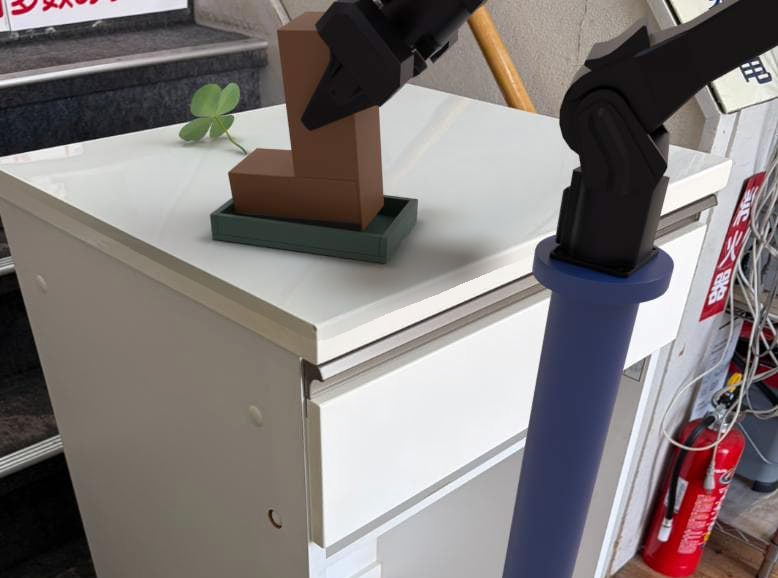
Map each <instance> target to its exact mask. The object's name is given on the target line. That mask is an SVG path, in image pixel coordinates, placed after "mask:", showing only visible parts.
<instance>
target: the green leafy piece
mask: <svg viewBox="0 0 778 578" xmlns="http://www.w3.org/2000/svg"><path fill="white" fill-rule="evenodd" d="M240 92H241V91H240V87H239V85H238V84H237V83H235V82H229V83H228V84H227V85H226V87H224V88H223V89H221V86H220V85H219V84H215V83H209V84H205V85H203V86H201V87H200V88H198V89H197V90H196V92H195V93H194V94H193V97H192V99H191V103H190V108H189V109H190V112H191V114H192V115H193V116H195V117H198V118H196V119H193V120H191V121H189V122H188V123H186V124H185V125H184V126H182V127H181V128H180V130H179V133H178V137H179V138H180V139H181V140H183V141H185V142H191V141H192V142H198V141H201V140H203V139H204V138H205V136H206V135H207V133H208V132H209V135H208V136H209V138H210V139H212V140H213V139H217V138H219V137H221V136H223V135H224V134H226V136H227V137H228V139H229V140H230V142H231V143H232V144H234V145H235V146H236V147H238V148H239V149H240V150H242V152H243V153H244V154H245V155H247V154H248V152H247V150H246V149H245V148H244V147H243V146H242V145H240V144H238V143H237V142H236V141H235V140H234V139H233V138H232V137H231V135H230V133H229V132H228V130H229V129H230V128H231V127H232V126H233V123H234V122H235V116H234V115H233V114H227V113H230V112H231V111H232V110H234V109H235V108H236V107H237V105H238V104H239V102H240V97H241V93H240ZM223 114H224V115H223ZM226 114H227V115H226Z"/></svg>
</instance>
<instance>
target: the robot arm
mask: <svg viewBox="0 0 778 578" xmlns="http://www.w3.org/2000/svg"><path fill="white" fill-rule="evenodd" d="M488 1H489V0H334V1H333V2H332V3H331V4H330V5H329V7H328V8H327V9H326V10H325V11H324V12H325V13H324V14H323V15H322V17H321V18H320V19H319V20H318V21H317V23H316V24H315V27H316V30H317V33H318V35H319V36H320V37H321V38H322V40H323V41H324V42H325V43H326V45H327V46H328V47H329V50H330V61H329V63H328V65H327V68H326V70H325V72H324V74H323V76H322V78H321V80H320V82H319V84H318V86H317V88H316V90H315V92H314V94H313V95H312V97H311V99H310V101H309V103H308V105H307V107H306V109H305V111H304V113H303V115H302V117H301V122H302V123H303V125H304V126H305V127H306V128H307V129H308V130H309V131H313V130H315V129H318V128H320V127H323V126H325V125H328V124H330V123H333V122H335V121H337V120H340V119H342V118H345V117H348V116H350V115H353V114H355V113H358V112H360V111H363V110H366V109H368V108H371V107H373V106H376V105H377V106H379V108H381V107H383V106H384V105H385V104H386V103H388V101H390V100H391V99H393V97H394V96H395V95H396V94H397V93H398V92H399V91H400V90H401V89H403V87H404V86H405V85H406V84H408V82H409V81H410V80H411V79H414V78H416V77H418V76H419V75H421V74H422V73H423V72H425V71H426V70H427V69H428V64H427V62H426V61H428V60H429V61H431V63H432V64H435V63H436V62H437V61H438V60H440V59H441V58H442V57H443V56H444V55H445V54H446V53H447V52H448V51H449V50H450V49H451V48H452V47H453V46H454V45H455V44H456V43H457V42H458V40H459V29H460V28H461V27H462V26H463V25H464V24H466V22H467V21H468V20H469V19H470V18H471V17H472V16H473V15H474V14H475V13H476V12H477V11H478V10H479V9H480V8H482V7H483V6H485V4H486V3H488ZM651 17H652V16H651V14H650V12H645V13H644V14H643V15H642V16H641V17H639V18H638V19H637V20H636V21H634V22H633V23H632V24H631V25H630V26H629V27H627V28H626V29H624V31H622V32H621V33H620V34H618V35H617V36H615V37H613V38H611V39H608V40H605V41H600V42H594V43H593V44H592V46H591V48H590V50H589V52H588V54H587V56H586V58H585V60H584V63H583V64H582V65H581V66H580V67H579V68H578V70H577V71H576V73H575V75H574V76H573V79H572V80H571V81H570V83H569V86H568V87H567V90H566V92H565V94H564V96H563V99H562V101H561V104H560V107H559V114H558V115H559V116H558V117H559V119H558V120H559V121H558V122H559V123H558V125H559V128H560V133H561V136H562V139H563V140H564V142H565V144H566V145H567V146H568V148H569V149H570V150H571V151H573V152H574V153H575V154H576V155H578V159H579V160H578V161H579V166H576V167H575V168H574V169H572V172H571V173H572V175H571V179H570V185H568V186H566V187H565V188H564V189H562V190H563V191H562V195H561V201H560V207H559V212H558V213H559V214H558V218H557V225H556V231H555V235H556V236H555V241H556V243H557V244H560V245H558V246H557V247H555V248H554V249H552V250H550V254H549V257H550V258H551V259H554V260H558V261H561V262H565V263H569V264H572V265H576V266H579V267H583V268H586V269H590V270H594V271H597V272H601V273H604V274H608V275H612V276H615V277H619V278H625V279H626V278H629V277H631V276H632V275H633V274H634V273H636V272H637V271H638V270H640V269H641V268H642V267H644V266H645V265H646V264H647V263H649V262H650V261H651V260H653V259H654V258H655V257H657V256H658V253H659V249H658V248H656V247H653V245H655V244H654V243H655V241H656V240H655V239H656V236H657V232H658V227H659V223H660V219H661V215H662V211H663V207H664V203H665V199H666V196H667V191H668V187H669V183H670V180H671V179H670V176H668V175H665V174H666V172H667V170H668V164H669V154H670V143H671V142H670V141H671V133H670V131H669V129H668V128H667V127H666V125H665V123H666V122H667V121H668V120H669V119H670V118H671V117H673V115H674V114H676V113H677V112H678V111H679V110H680V109H682V107H684V106H685V105H686V104H687V103H688V102H689V101H690V100H692V98H694V97H695V96H696V95H697V94H698V93H699V92H700V91H701V90H703V89H704V88H705V87H707V86H708V85H709V84H711V83H713V82H714V81H716V80H718V79H720V78H722V77H723V76H725V75H727V74H729V73H731V72H733V71H734V70H736V69H739V68H740V67H741V66H743V65H746V64H747V63H749V62H751V61H753V60H755V59H756V58H758V57H761V56H762V55H764V54H766V53H767V52H769V51H771V50H773V49H774V48H776V47H778V0H723V1H721V2H719V3H717V4H716V5H714V6H713V7H711V8H709V9H707V10H706V11H704V12H702V13H700V14H699V15H697V16H696V17H694V18H693V19H690V20H688V21H686V22H683V23H681V24H678V25H674V26H670V27H667V28H665V29H661V30H658V31H655V32H654V27H653V23H652V18H651Z"/></svg>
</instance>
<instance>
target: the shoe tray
mask: <svg viewBox="0 0 778 578" xmlns="http://www.w3.org/2000/svg"><path fill="white" fill-rule="evenodd" d="M383 195H384V206H383V207H382V208H381V209H380V211H379V212H378V213H377V214H376V216H375V217H374V218H373V219H372V221H371V222H370V223H369V224H368V226H367V227H366V228H365V229H364V231H363V232H357V231H350V230H342V229H335V228H327V227H320V226H312V225H305V224H297V223H290V222H283V221H275V220H268V219H260V218H253V217H245V216H238V215H233V212H234V211H235V210H234V205H233V199H232V197H231V198H229V199H228V200H227V201H225V203H223V204H222V205H220V206H219V207H218V208H217V209H215V210H214V211H212V212H211V213H210V214H209V219H210V231H211V238H212V239H211V240H215V241H216V240H217V241H223V242H229V243H237V244H244V245H252V246H258V247H265V248H274V249H279V250H280V249H281V250H287V251H288V250H289V251H293V252H300V253H307V254H316V255H323V256H329V257H337V258H343V259H351V260H357V261H363V262H364V261H365V262H370V263H371V262H372V263H379V264H387V263H388V262H389V261H390V260H391V258H392V257H393V255H394V254H395V252H396V251H397V250H398V249H399V248H400V245H401V244H402V243H403V242H404V240H405V239H406V238H407V236H408V235H409V234H410V232H411V231H412V229H414V227H415V226H416V224H417V222H418V207H419V199H418V198H413V197H404V196H398V195H388V194H383Z"/></svg>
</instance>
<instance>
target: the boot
mask: <svg viewBox="0 0 778 578" xmlns="http://www.w3.org/2000/svg"><path fill="white" fill-rule="evenodd" d="M325 12H326V11H309V10H308V11H307V10H306V11H304V12H303V13H301V14H300V15H298V16H297V17H295V18H293V19H292V20H290V21H288V22H287V23H285V24H284V25H282V26H280V27H279V28H277V29H276V36H277V45H278V53H279V59H280V60H279V61H280V68H281V76H282V86H283V92H284V101H285V108H286V109H285V110H286V118H287V126H288V134H289V141H290V149H281V148H279V149H278V148H265V147H264V148H261V147H256V148H255V149H254V150H253V151H251V152H250V153H249V154H248V155H246V157H244V158H243V159H242V160H241V161H239V162H238V163H237V164H236V165H235V166H234V167H232V168H231V169H230V170H228V172H227V176H228V181H229V186H230V187H229V188H230V193H231V198H232V199H233V205H234V210H235V211H234V212H233V215H238V216H245V217H253V218H260V219H268V220H275V221H283V222H290V223H297V224H305V225H312V226H320V227H327V228H335V229H342V230H350V231H357V232H363V231H364V229H365V228H366V227H367V226H368V224H369V223H370V222H371V221H372V219H373V218H374V217H375V216H376V214H377V213H378V212H379V211H380V209H381V208H382V207H383V206H384V195H385V194H384V179H383V178H384V177H383V161H382V160H383V159H382V138H381V120H380V119H381V118H380V107H379V106H377V105H376V106H373V107H371V108H368V109H366V110H363V111H360V112H358V113H355V114H353V115H350V116H348V117H345V118H342V119H340V120H337V121H335V122H333V123H330V124H328V125H325V126H323V127H320V128H318V129H315V130H313V131H309V130H308V129H307V128H306V127H305V126H304V125H303V123H302V122H301V117H302V115H303V113H304V111H305V109H306V107H307V105H308V103H309V101H310V99H311V97H312V95H313V94H314V92H315V90H316V88H317V86H318V84H319V82H320V80H321V78H322V76H323V74H324V72H325V70H326V68H327V65H328V63H329V61H330V50H329V47H328V46H327V45H326V43H325V42H324V41H323V40H322V38H321V37H320V36H319V35H318V33H317V30H316V27H315V24H316V23H317V21H318V20H319V19H320V18H321V17H322V15H323V14H324V13H325Z"/></svg>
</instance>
